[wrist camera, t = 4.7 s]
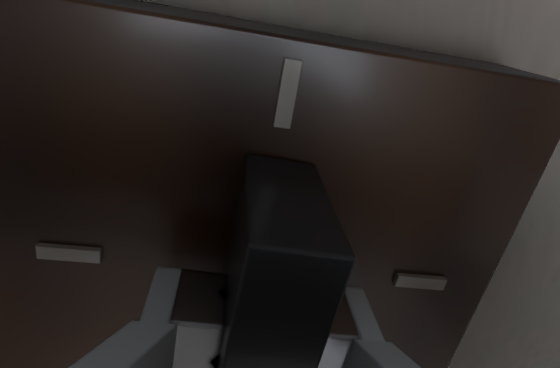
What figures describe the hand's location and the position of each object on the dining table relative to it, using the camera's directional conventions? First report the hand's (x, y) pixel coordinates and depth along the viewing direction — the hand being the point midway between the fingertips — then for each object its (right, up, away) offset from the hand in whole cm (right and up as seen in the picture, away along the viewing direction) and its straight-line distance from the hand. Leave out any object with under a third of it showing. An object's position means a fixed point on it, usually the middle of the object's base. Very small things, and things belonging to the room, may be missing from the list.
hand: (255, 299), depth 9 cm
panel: (0, +2, +4) cm, 4 cm away
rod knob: (0, +1, +1) cm, 1 cm away
